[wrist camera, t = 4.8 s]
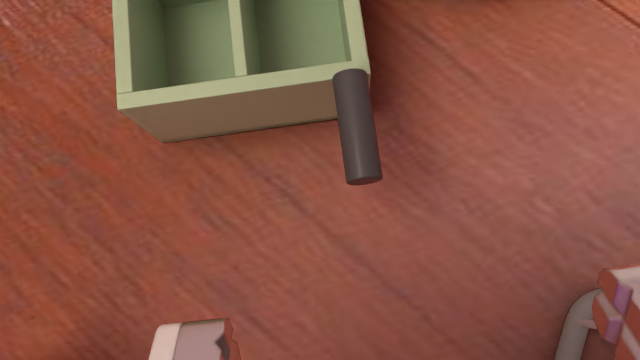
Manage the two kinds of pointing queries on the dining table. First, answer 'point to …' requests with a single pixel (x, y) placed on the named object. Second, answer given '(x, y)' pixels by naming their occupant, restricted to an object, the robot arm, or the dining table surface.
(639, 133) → the dining table surface
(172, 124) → the green shelf unit
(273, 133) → the dining table surface
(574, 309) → the newton's cradle
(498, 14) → the dining table surface
